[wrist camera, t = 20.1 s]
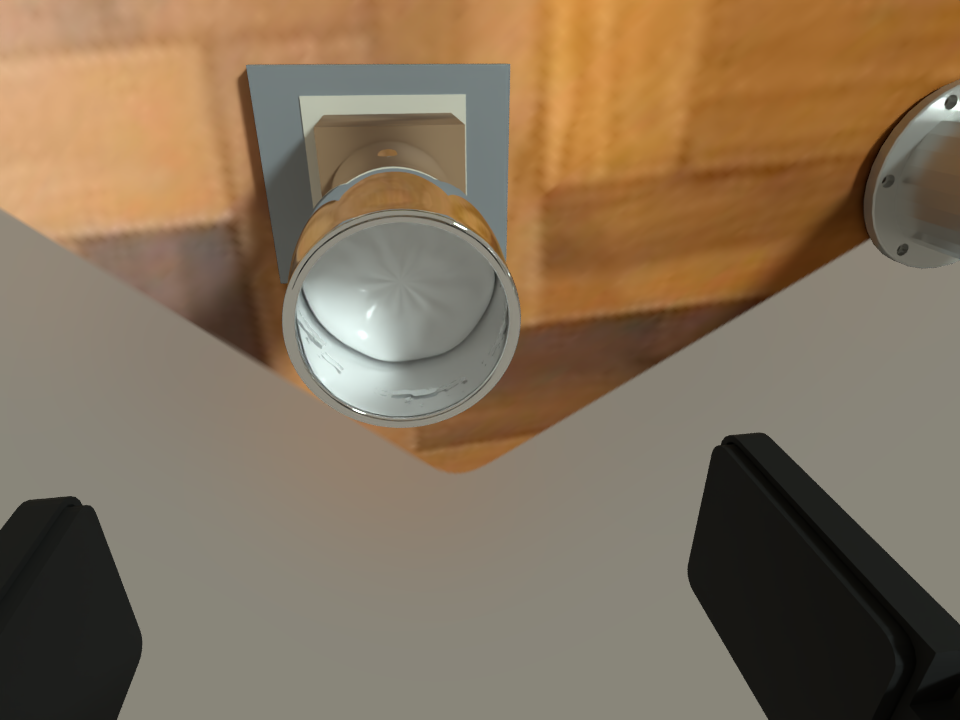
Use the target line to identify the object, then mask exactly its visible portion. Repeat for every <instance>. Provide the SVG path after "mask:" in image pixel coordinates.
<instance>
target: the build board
mask: <svg viewBox="0 0 960 720" xmlns="http://www.w3.org/2000/svg"><path fill="white" fill-rule="evenodd" d="M246 68H247V74H248V80H249V87H250V93H251V99H252V106H253V112H254V118H255V124H256V131H257V137H258V143H259V150H260V156H261V162H262V168H263V175H264V181H265V187H266V194H267V200H268V206H269V212H270V219H271V225H272V231H273V238H274V244H275V250H276V256H277V263H278V269H279V275H280V282H281V283H288V276H289V270H290V264H291V260H292V256H293V253H294V249H295V246H296V242H297V239H298V237H299V234H300V232H301V230H302V228H303V226H304V224H305V222H306V220H307V219H308V217H309V215H310V213H311V212H312V210H313V209H314V207H315V206H316V204H317V203H318V202H319V201H320V199H321V198H322V194H321V185H320V177H319V169H318V161H317V152H316V144H315V136H314V126H315V125H316V124H317V122H318V121H319V120H320V119H321V117H322V116H323V115H349V114H406V113H452V114H453V115H454V116H456V117H457V118H458V119H459V120H460V121H461V122H463V123H464V124H465V170H466V196H467V197H468V198H469V199H470V200H471V201H472V202H473V203H474V205H475V206H476V207H477V208H478V209H479V211H480V212H481V213H482V214H483V216H484V217H485V219H486V220H487V222H488V223H489V225H490V227H491V229H492V231H493V233H494V235H495V237H496V239H497V241H498V243H499V245H500V247H501V250H502V253H503V255H504V258H505V261H506V242H507V193H508V144H509V95H510V64H299V65H246Z"/></svg>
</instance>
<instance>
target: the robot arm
mask: <svg viewBox="0 0 960 720" xmlns="http://www.w3.org/2000/svg"><path fill="white" fill-rule="evenodd" d="M864 220H865V224H866V228H867V232H868V234H869V236H870V238H871V240H872V242H873V244H874V245H875V246H876V247H877V248H878V249H879V251H881V253H882V254H884V255H885V256H887V257H889V258H891V259H892V260H894V261H897V262H899V263H902V264H904V265H907V266H910V267H916V268H936V267H941V266H945V265H949V264H953V263H955V262H957V261H960V79H959V80H957V81H955V82H952V83H950V84H948V85H945V86H943V87H941V88H940V89H938V90H937V91H935V92H933V93H932V94H930V95H929V96H927V97H926V98H924V99H923V100H922V101H921V102H920V103H918V104H917V105H916V106H915V107H914V108H913V109H912V110H910V111H909V112H908V113H907V114H906V115H905V117H904V118H903V119H902V120H901V121H900V122H899V123H898V124H897V126H896V127H895V128H894V129H893V131H892V132H891V134H890V135H889V137H888V138H887V139H886V141H885V142H884V144H883V145H882V147H881V149H880V151H879V153H878V155H877V157H876V159H875V161H874V163H873V165H872V168H871V171H870V174H869V178H868V181H867V184H866V190H865V196H864ZM688 578H689V582H690V585H691V588H692V590H693V592H694V593H695V595H696V597H697V598H698V600H699V602H700V604H701V605H702V607H703V609H704V610H705V612H706V614H707V616H708V617H709V619H710V620H711V622H712V624H713V626H714V627H715V629H716V631H717V632H718V634H719V636H720V638H721V639H722V641H723V643H724V645H725V646H726V648H727V650H728V651H729V653H730V655H731V657H732V658H733V660H734V662H735V663H736V665H737V667H738V668H739V670H740V672H741V674H742V675H743V677H744V679H745V680H746V682H747V684H748V686H749V687H750V689H751V691H752V692H753V694H754V696H755V697H756V699H757V701H758V703H759V704H760V706H761V708H762V709H763V711H764V713H765V715H766V716H767V718H768V720H960V625H959V623H958V622H957V621H956V620H955V619H954V618H953V617H952V616H951V615H950V614H949V613H947V611H946V610H945V609H944V608H942V607H941V605H939V604H938V603H937V602H936V601H935V600H934V599H933V598H932V597H931V596H930V595H929V594H928V593H927V592H926V591H925V590H924V589H923V588H922V587H921V586H920V585H919V584H918V583H917V582H916V581H915V580H914V579H913V578H912V577H911V576H910V575H909V574H908V573H907V572H906V571H905V570H904V569H903V568H902V567H901V566H900V565H899V564H898V563H897V562H896V561H895V560H894V559H893V558H892V557H891V556H890V555H889V554H888V553H887V552H886V551H885V550H884V549H883V548H882V547H881V546H880V545H879V544H878V543H877V542H876V541H875V540H873V539H872V537H870V535H868V534H867V533H866V532H865V531H864V530H863V529H862V528H861V527H860V526H859V525H858V524H857V523H856V522H855V521H854V520H853V519H852V518H851V517H850V516H849V515H848V514H847V513H846V512H845V511H844V510H843V509H842V508H841V507H840V506H839V505H838V504H837V503H836V502H835V501H834V500H833V499H832V498H831V497H830V496H829V495H828V494H827V493H826V492H825V491H824V490H823V489H822V488H821V487H820V486H819V485H818V484H817V483H816V482H815V481H814V480H812V478H811V477H810V476H809V475H808V474H807V473H805V471H804V470H803V469H802V468H801V467H800V466H799V465H797V464H796V463H795V462H794V461H793V460H792V459H791V458H790V457H789V456H788V455H787V454H786V453H785V452H784V451H783V450H782V449H781V448H780V447H779V446H778V445H777V444H776V443H775V442H774V441H773V440H772V439H771V438H770V437H769V436H767V435H766V434H764V433H750V434H739V435H729V436H727V437H725V438H724V439H723V440H722V443H721V445H719V446H716V447H715V448H714V450H713V452H712V455H711V460H710V465H709V469H708V474H707V479H706V483H705V489H704V493H703V498H702V502H701V507H700V511H699V516H698V521H697V525H696V530H695V535H694V539H693V544H692V549H691V553H690V558H689V563H688ZM141 652H142V636H141V632H140V629H139V626H138V624H137V621H136V619H135V616H134V613H133V610H132V608H131V605H130V603H129V600H128V597H127V594H126V592H125V589H124V586H123V584H122V581H121V578H120V576H119V573H118V570H117V568H116V565H115V562H114V560H113V557H112V555H111V552H110V549H109V547H108V544H107V541H106V539H105V536H104V533H103V531H102V528H101V526H100V523H99V520H98V517H97V515H96V512H95V511H94V509H93V508H92V507H91V506H88V505H84V506H83V505H82V504H81V502H80V500H78V499H77V498H76V497H72V496H68V497H57V498H47V499H35V500H28V501H26V502H23V503H22V504H21V505H20V506H19V507H18V508H17V509H16V511H15V512H14V513H13V514H12V516H11V517H10V518H9V520H8V521H7V522H6V523H5V525H4V526H3V527H2V529H1V530H0V720H117V718H118V715H119V712H120V710H121V707H122V704H123V702H124V700H125V697H126V694H127V692H128V689H129V687H130V684H131V681H132V679H133V676H134V674H135V671H136V668H137V666H138V663H139V660H140V657H141Z"/></svg>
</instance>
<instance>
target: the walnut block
mask: <svg viewBox="0 0 960 720" xmlns="http://www.w3.org/2000/svg"><path fill="white" fill-rule="evenodd" d="M314 136H315V144H316V152H317V161H318V169H319V177H320V185H321V194H322V197H323V196H324V195H325V194H326V193H327V192H328V191H329V190H330V186H331V183H332V180H333V178H334V175H335V173H336V171H337V170H338V168H339V167H340V165H341V164H342V163H343V162H344V160H345V159H346V158H347V157H349V156H350V155H351V154H352V153H353V152H355V151H356V150H358V149H360V148H362V147H364V146H366V145H369V144H372V143H376V142H381V141H397V142H402V143H406V144H409V145H412V146H414V147H417V148H419V149H421V150H422V151H424V152H426V153H427V154H428V155H430V156H431V157H432V158H433V159H434V160H435V161H436V162H437V163H438V164H439V165H440V166H441V168H442V169H443V171H444V172H445V174H446V176H447V178H448V180H449V182H450V183H452V184H453V185H455V186H456V187H457V188H459V189H460V190H461V191H462V192H463V193H464V194H465V195H466V170H465V124H464V123H463V122H461V121H460V120H459V119H458V118H457V117H456V116H454V115H453V114H452V113H406V114H349V115H323V116H322V117H321V119H320V120H319V121H318V122H317V124H316V125H315V126H314Z"/></svg>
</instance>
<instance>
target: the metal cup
mask: <svg viewBox="0 0 960 720" xmlns="http://www.w3.org/2000/svg"><path fill="white" fill-rule="evenodd" d="M520 323H521V312H520V303H519V297H518V293H517V289H516V286H515V283H514V280H513V278H512V276H511V274H510V272H509V270H508V267H507V264H506V261H505V258H504V255H503V253H502V250H501V247H500V245H499V243H498V241H497V239H496V237H495V235H494V233H493V231H492V229H491V227H490V225H489V223H488V222H487V220H486V219H485V217H484V216H483V214H482V213H481V212H480V211H479V209H478V208H477V207H476V206H475V205H474V203H473V202H472V201H471V200H470V199H469V198H468V197H467V196H466V195H465V194H464V193H463V192H462V191H461V190H460V189H459V188H457V187H456V186H455V185H453V184H452V183H450V182H449V180H448V178H447V176H446V174H445V172H444V171H443V169H442V168H441V166H440V165H439V164H438V163H437V162H436V161H435V160H434V159H433V158H432V157H431V156H430V155H428V154H427V153H426V152H424V151H422V150H421V149H419V148H417V147H414V146H412V145H409V144H406V143H402V142H397V141H381V142H376V143H372V144H369V145H366V146H364V147H362V148H360V149H358V150H356V151H355V152H353V153H352V154H351V155H350V156H349V157H347V158H346V159H345V160H344V162H343V163H342V164H341V165H340V167H339V168H338V170H337V171H336V173H335V175H334V178H333V180H332V183H331V186H330V190H329V191H328V192H327V193H326V194H325V195H324V196H323V197H322V198H321V199H320V201H319V202H318V203H317V204H316V206H315V207H314V209H313V210H312V212H311V213H310V215H309V217H308V219H307V220H306V222H305V224H304V226H303V228H302V230H301V232H300V234H299V237H298V239H297V242H296V246H295V249H294V253H293V256H292V260H291V264H290V270H289V276H288V283H287V290H286V294H285V298H284V303H283V311H282V328H283V336H284V341H285V345H286V349H287V352H288V355H289V357H290V360H291V362H292V364H293V366H294V368H295V370H296V371H297V373H298V375H299V376H300V378H301V379H302V380H303V382H304V383H305V384H306V385H307V387H308V388H309V389H310V390H311V391H312V392H313V393H314V394H315V395H316V396H317V397H318V398H319V399H321V400H322V401H323V402H324V403H326V404H327V405H328V406H330V407H331V408H333V409H335V410H336V411H338V412H340V413H342V414H344V415H346V416H348V417H350V418H353V419H355V420H358V421H361V422H364V423H368V424H372V425H377V426H383V427H395V428H407V427H418V426H424V425H429V424H433V423H437V422H440V421H443V420H446V419H448V418H451V417H453V416H455V415H457V414H459V413H461V412H463V411H465V410H466V409H468V408H470V407H471V406H473V405H474V404H475V403H477V402H478V401H479V400H481V399H482V398H483V397H484V396H485V395H486V394H487V393H488V392H489V391H490V390H491V389H492V388H493V387H494V386H495V385H496V384H497V383H498V381H499V380H500V379H501V377H502V376H503V374H504V373H505V371H506V369H507V368H508V366H509V364H510V362H511V360H512V357H513V355H514V352H515V349H516V346H517V343H518V338H519V333H520Z"/></svg>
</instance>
